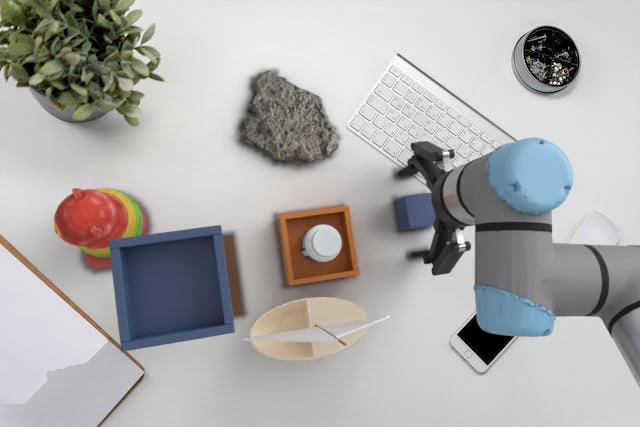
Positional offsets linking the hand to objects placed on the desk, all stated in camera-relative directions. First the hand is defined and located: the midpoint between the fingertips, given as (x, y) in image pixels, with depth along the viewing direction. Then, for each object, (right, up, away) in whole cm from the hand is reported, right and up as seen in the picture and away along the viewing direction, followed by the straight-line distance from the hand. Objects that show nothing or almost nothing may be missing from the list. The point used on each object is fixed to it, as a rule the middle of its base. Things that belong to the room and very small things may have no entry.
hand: (412, 213), depth 86 cm
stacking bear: (-46, -2, -7) cm, 46 cm away
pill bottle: (-16, -5, -3) cm, 17 cm away
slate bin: (-33, -10, -6) cm, 35 cm away
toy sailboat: (-16, -17, -4) cm, 24 cm away
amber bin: (-16, -5, -3) cm, 17 cm away
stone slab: (-19, +14, -1) cm, 24 cm away
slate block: (0, 0, 0) cm, 0 cm away
